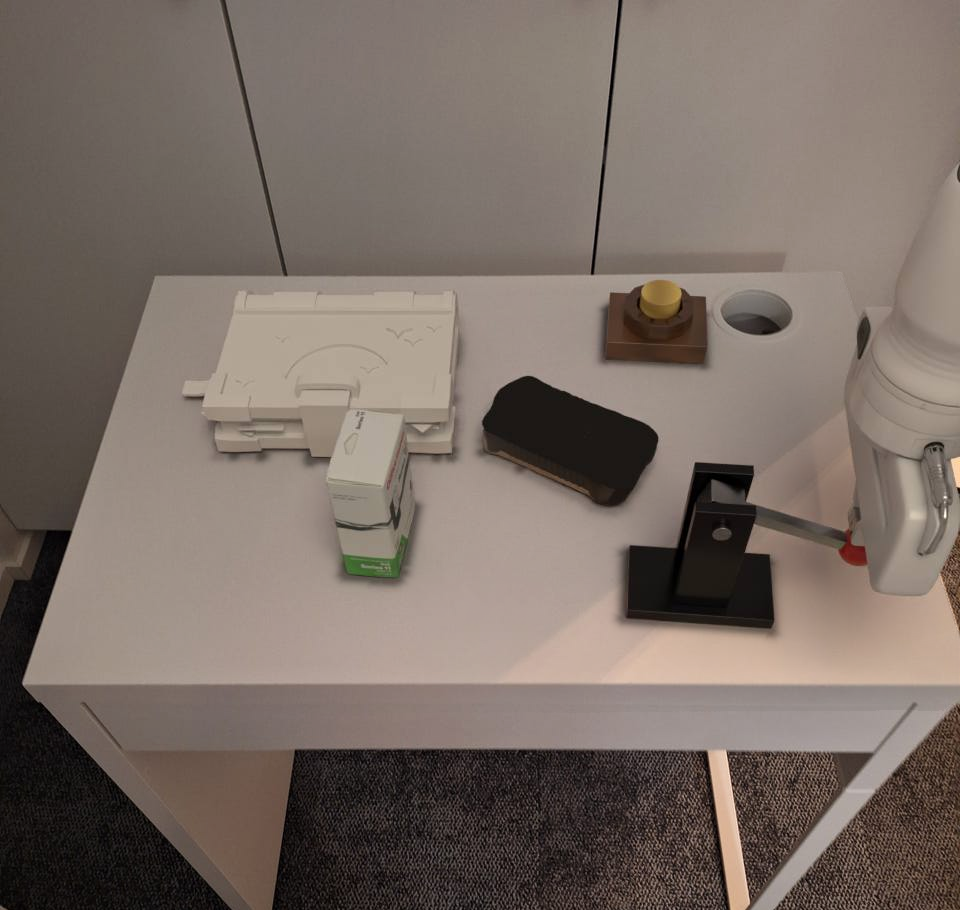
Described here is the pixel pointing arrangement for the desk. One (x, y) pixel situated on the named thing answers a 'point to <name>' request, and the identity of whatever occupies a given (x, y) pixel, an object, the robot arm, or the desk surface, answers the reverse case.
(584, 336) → the desk surface
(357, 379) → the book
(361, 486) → the ink box
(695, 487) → the bracket
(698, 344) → the button block
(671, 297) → the button
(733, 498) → the lever
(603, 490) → the black sponge
